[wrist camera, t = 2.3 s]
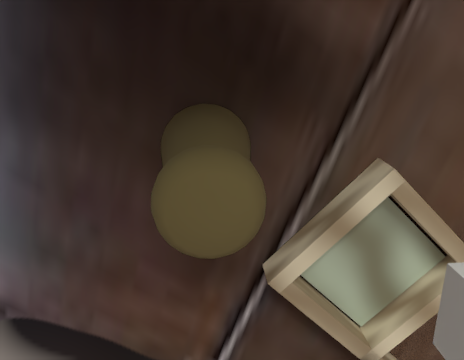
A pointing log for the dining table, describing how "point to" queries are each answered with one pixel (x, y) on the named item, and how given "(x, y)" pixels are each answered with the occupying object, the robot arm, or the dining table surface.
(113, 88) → the dining table surface
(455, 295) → the robot arm
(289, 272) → the condiment rack
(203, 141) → the olive condiment shaker
